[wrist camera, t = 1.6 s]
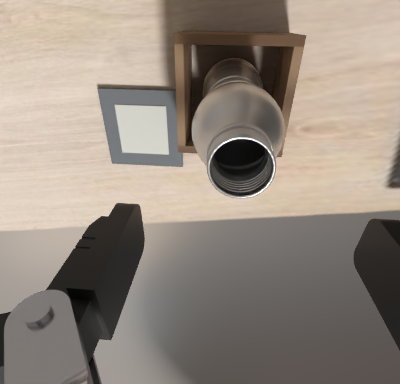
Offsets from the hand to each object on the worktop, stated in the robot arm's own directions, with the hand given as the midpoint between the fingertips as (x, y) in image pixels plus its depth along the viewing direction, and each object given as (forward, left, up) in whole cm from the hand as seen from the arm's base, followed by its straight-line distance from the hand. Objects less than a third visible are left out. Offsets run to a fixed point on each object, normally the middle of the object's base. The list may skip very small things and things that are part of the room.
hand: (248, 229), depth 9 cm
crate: (0, 0, -25) cm, 25 cm away
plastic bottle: (0, 0, -25) cm, 25 cm away
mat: (+6, -11, -25) cm, 28 cm away
